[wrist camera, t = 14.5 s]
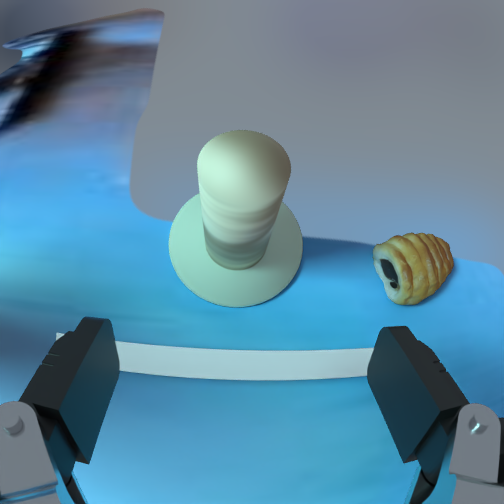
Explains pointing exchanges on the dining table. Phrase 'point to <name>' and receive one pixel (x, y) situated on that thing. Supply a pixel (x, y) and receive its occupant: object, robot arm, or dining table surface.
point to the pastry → (412, 266)
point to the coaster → (234, 281)
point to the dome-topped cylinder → (241, 195)
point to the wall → (241, 362)
